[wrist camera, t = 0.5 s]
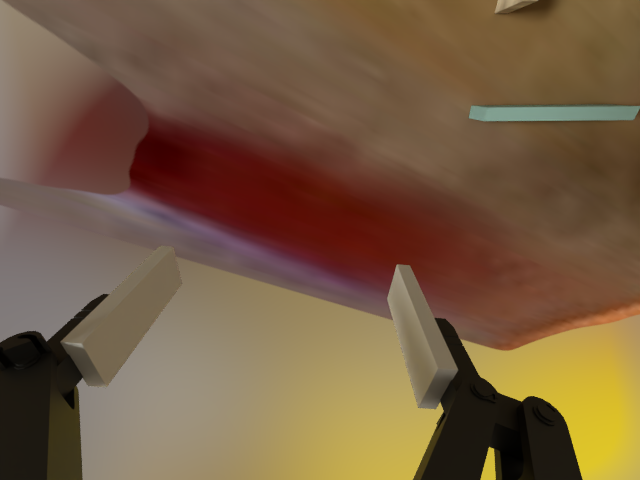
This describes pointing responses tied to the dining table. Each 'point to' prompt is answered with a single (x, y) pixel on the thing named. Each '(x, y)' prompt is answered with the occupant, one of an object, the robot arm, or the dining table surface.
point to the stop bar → (553, 112)
